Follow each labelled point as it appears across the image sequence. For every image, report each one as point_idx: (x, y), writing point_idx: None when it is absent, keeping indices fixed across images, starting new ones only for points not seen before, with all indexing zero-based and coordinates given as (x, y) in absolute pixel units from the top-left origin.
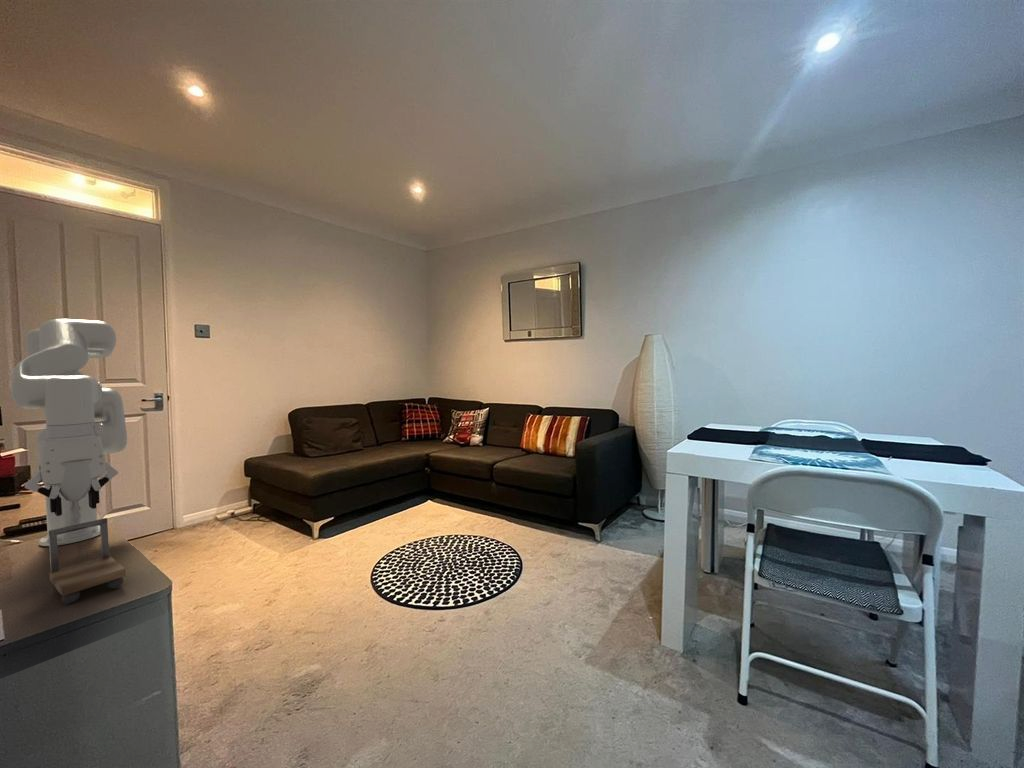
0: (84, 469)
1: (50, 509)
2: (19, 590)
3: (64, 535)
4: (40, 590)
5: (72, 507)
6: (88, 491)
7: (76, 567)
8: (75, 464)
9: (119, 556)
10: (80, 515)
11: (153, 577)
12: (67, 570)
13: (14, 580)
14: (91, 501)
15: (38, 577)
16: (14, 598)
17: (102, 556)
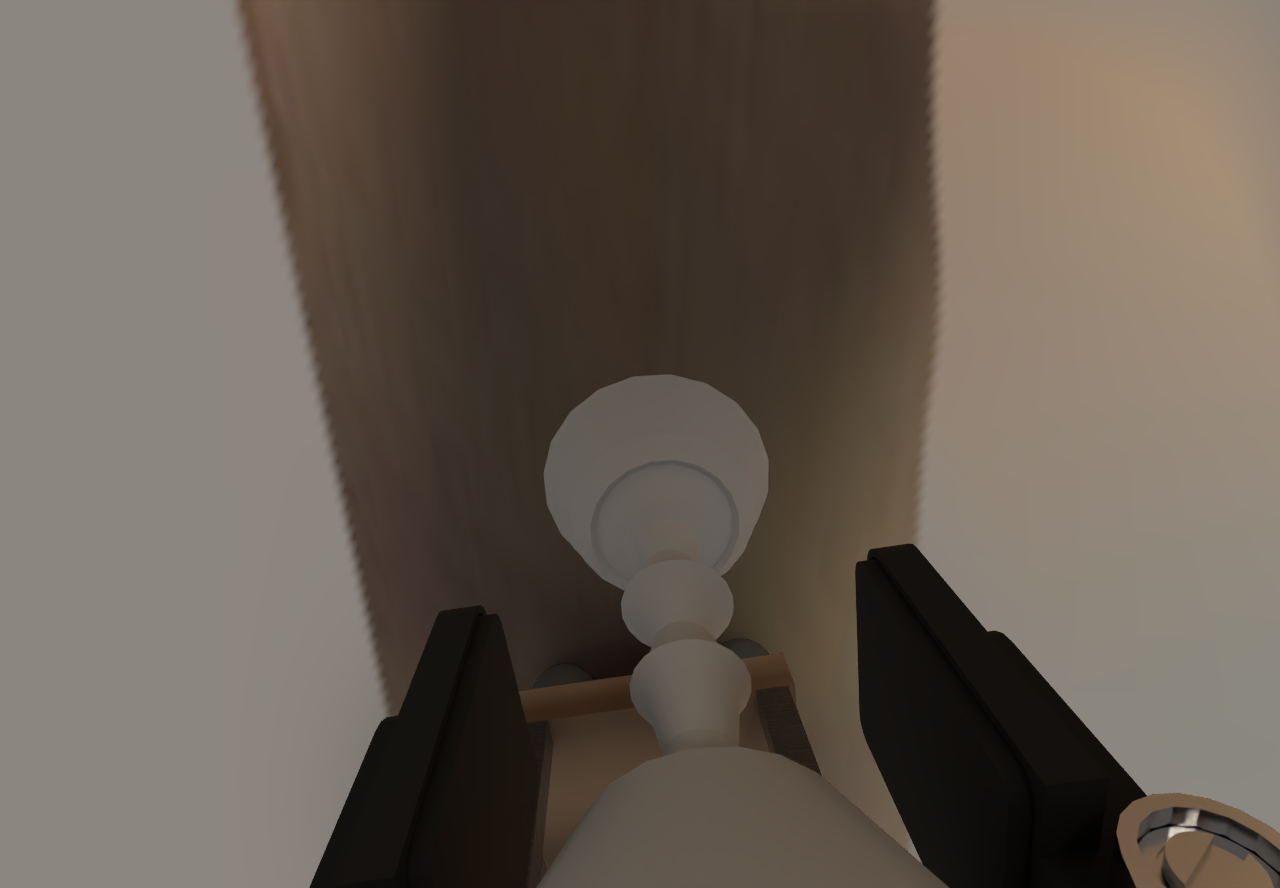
0: None
1: (379, 733)
2: (385, 499)
3: (566, 517)
4: (481, 591)
5: (655, 730)
6: (997, 802)
7: (631, 759)
8: None
9: (859, 315)
10: (720, 622)
11: (895, 823)
12: (592, 773)
13: (318, 259)
14: (905, 806)
15: (444, 332)
16: (386, 609)
17: (760, 713)
